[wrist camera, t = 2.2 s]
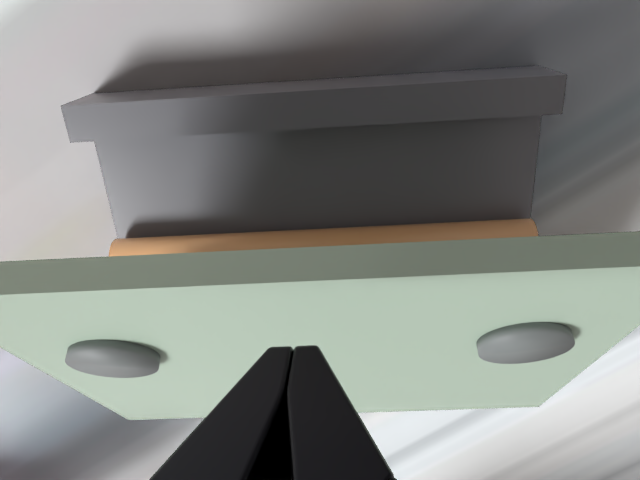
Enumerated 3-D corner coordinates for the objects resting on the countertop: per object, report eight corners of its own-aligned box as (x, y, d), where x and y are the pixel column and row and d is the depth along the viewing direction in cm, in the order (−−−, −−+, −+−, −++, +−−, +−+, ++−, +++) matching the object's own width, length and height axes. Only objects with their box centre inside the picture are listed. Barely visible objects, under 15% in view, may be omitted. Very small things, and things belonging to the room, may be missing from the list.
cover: (534, 386, 21) (540, 414, 21) (131, 400, 22) (127, 427, 21) (700, 228, 11) (723, 276, 10) (-72, 265, 12) (-92, 311, 11)
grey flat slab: (509, 347, 23) (528, 384, 21) (155, 360, 24) (137, 398, 22) (538, 65, 19) (567, 75, 16) (92, 93, 19) (60, 105, 17)
